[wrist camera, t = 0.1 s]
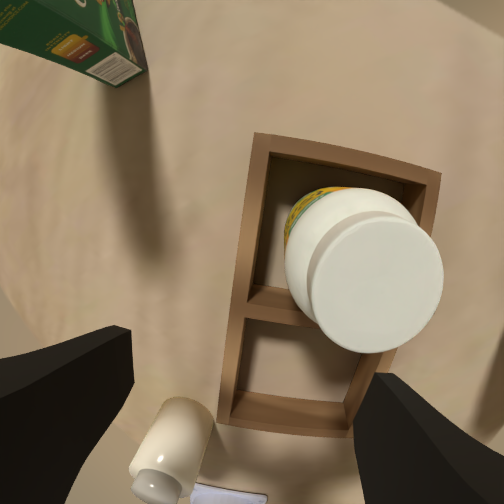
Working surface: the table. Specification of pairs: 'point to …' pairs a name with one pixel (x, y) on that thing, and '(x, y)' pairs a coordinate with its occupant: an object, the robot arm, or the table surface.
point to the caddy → (282, 303)
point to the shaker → (171, 452)
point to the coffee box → (77, 35)
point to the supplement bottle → (361, 268)
